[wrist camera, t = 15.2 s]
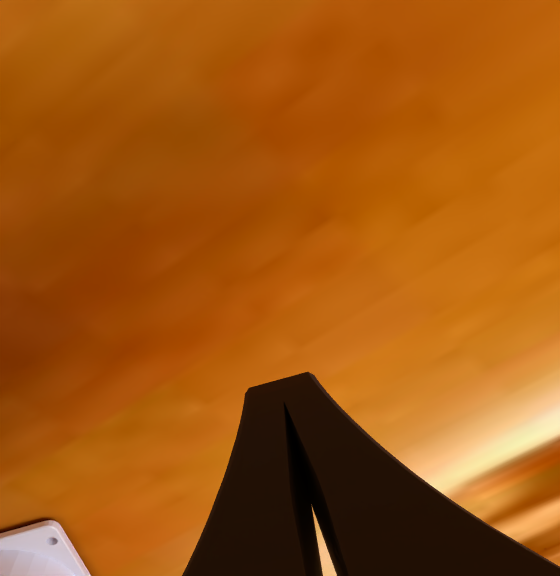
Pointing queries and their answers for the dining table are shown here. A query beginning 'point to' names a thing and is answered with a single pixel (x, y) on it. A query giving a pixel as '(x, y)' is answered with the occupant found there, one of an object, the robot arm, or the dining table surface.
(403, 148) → the dining table surface
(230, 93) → the dining table surface
